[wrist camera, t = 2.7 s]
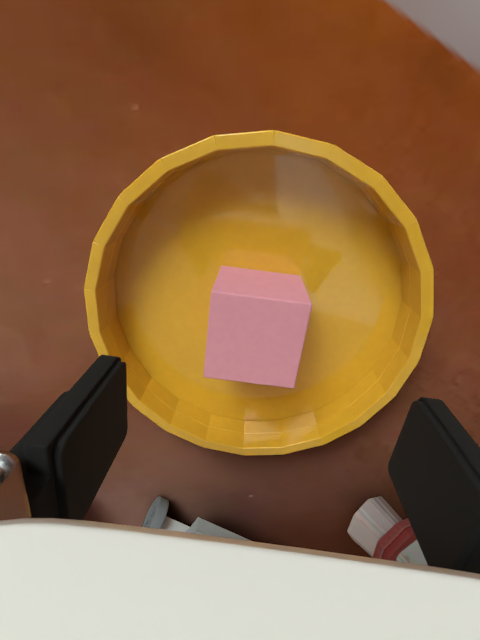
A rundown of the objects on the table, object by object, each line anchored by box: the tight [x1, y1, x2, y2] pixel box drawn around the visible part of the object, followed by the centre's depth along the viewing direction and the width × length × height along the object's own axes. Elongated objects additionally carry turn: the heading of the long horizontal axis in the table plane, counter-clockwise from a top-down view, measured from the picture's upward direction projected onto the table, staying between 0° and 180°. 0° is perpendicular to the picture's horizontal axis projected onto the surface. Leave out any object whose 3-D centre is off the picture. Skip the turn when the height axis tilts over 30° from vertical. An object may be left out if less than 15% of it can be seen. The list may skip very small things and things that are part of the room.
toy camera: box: [347, 496, 428, 566], centre depth 23 cm, size 11×9×20 cm
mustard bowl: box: [84, 130, 434, 456], centre depth 19 cm, size 17×17×3 cm
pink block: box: [203, 266, 312, 388], centre depth 18 cm, size 4×4×4 cm
